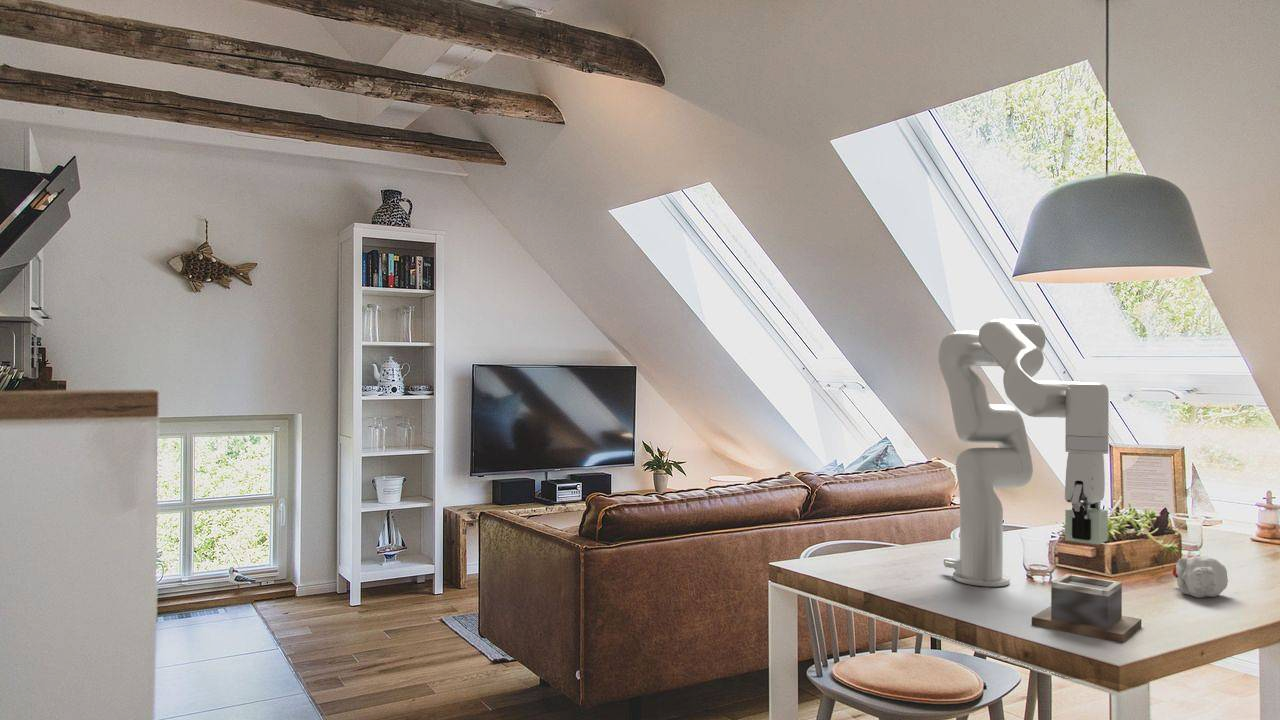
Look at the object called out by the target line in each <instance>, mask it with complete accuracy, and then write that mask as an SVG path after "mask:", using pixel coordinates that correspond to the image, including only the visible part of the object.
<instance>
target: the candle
mask: <svg viewBox="0 0 1280 720" xmlns="http://www.w3.org/2000/svg"><path fill="white" fill-rule="evenodd" d="M1172 575H1173V576H1174V577H1175V578H1176V581H1177V583H1176V584H1177V586H1178V589H1179V590H1180V592H1181V593H1183V594H1185V595H1189V596H1192V597H1194V598H1197V599H1200V598H1210V597H1211V598H1212V597H1213V598H1214V597H1216V596H1219V595H1220V594H1222V593H1223V592H1224V590H1226V589H1227V587H1228V582H1229V580H1228V578H1229V577H1228V570H1227V568H1226V566H1225V565H1224V564H1223V563H1221V562H1220V561H1219V560H1217V559H1215V558H1213V557H1208V556H1194V555H1193V556H1192V555H1191V556H1188V557H1181V558H1179V559H1178V560H1177V562H1176V565H1175V566H1174V568H1173V571H1172Z"/></svg>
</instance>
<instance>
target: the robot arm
mask: <svg viewBox="0 0 1280 720" xmlns="http://www.w3.org/2000/svg"><path fill="white" fill-rule="evenodd" d="M1046 339H1047V338H1046V333H1045V331H1044V329H1043V327H1042V326H1041V325H1040V324H1039V323H1038V322H1036V321H1033V320H1030V319H1011V318H1010V319H1009V318H998V319H992V320H989V321H987V322H985V323H984V324H983V325H982V326H981V327H980V328H979V330H962V331H961V330H960V331H954V332H951V333H949V334H947V335H945V336H944V337H943V338H942V339H941V342H940V344H939V348H938V365H939V369H940V371H941V375H942V377H943V379H944V383H945V384H946V387H947V389H948V394H949V399H950V400H949V401H950V405H951V411H952V419H953V422H954V428H955V431H956V434H957V437H958V439H959V440H961V442H964V443H967V444H968V443H969V444H997V446H998V447H972V448H967V449H965V450H963V451H962V452H960V453H959V454H958V456H957V458H956V461H955V471H956V472H955V473H956V478H957V483H958V489H959V490H958V491H959V558H957V559H953V558H949V557H945V558H944V559H943V565H944V568H951V569H954V570H955V571H954V572H953V573H952V579H953V580H955V581H956V582H958V583H962V584H966V585H970V586H978V587H988V588H989V587H992V588H994V587H1005V586H1008V585H1009V584H1010V580H1011V578H1010V577H1008V576H1007V575H1005V574H1003V565H1004V564H1003V558H1004V557H1003V552H1004V551H1003V549H1004V547H1003V546H1004V545H1003V541H1004V538H1003V536H1004V535H1003V534H1004V532H1003V531H1004V529H1003V528H1004V521H1003V520H1004V517H1003V515H1004V511H1003V510H1004V509H1003V505H1002V504H1003V503H1002V502H1001V500H1000V498H999V496H998V495H997V493H996V492H995V490H994V489H998V488H999V489H1002V488H1005V489H1007V488H1022V487H1025V486H1026V485H1028V484H1029V483H1030V482H1031V480H1032V477H1033V472H1034V469H1033V467H1034V466H1033V460H1032V456H1031V449H1030V446H1029V439H1028V435H1027V430H1026V426H1025V422H1024V419H1023V417H1022V415H1021V414H1020V412H1021V413H1023V414H1025V415H1027V416H1028V417H1032V418H1060V419H1061V418H1064V419H1065V447H1064V448H1065V452H1067V453H1068V454H1067V459H1066V469H1065V470H1066V471H1065V485H1064V486H1065V487H1064V500H1065V502H1067V503H1071V506H1072V507H1071V508H1072V538H1074V539H1081V540H1090V539H1091V519H1089V512H1090V508H1094V509H1101V503H1102V501H1103V500H1104V498H1105V492H1106V491H1105V486H1106V484H1105V483H1106V482H1105V459H1104V457H1105V456H1104V455H1107V454H1109V404H1110V403H1109V388H1108V387H1107V385H1106V384H1105V383H1102V382H1080V381H1070V380H1068V381H1067V380H1036V379H1033V378H1032V377H1034V376H1035V375H1037V374H1038V372H1039V371H1040V370H1041V369H1042V367H1043V365H1044V357H1045V356H1044V353H1043V352H1042V351H1043V349H1044V348H1045V345H1046ZM972 366H979V367H1001V369H1002V370H1003V371H1004V372H1003V380H1002V381H1003V388H1004V392H1005V394H1006V397H1007V399H1008V400H1009V401H1010V402H1012V403H1013V405H1014V406H1015V407H1016V408H1015V407H1014V406H1013V405H1009V404H1002V403H1001V404H992V403H991V402H990V401H989V399H988V395H987V390H986V386H985V383H984V382H983V380H982V379H981V377H980V376H979V375H978V374H977V373H976V372H975V371H974V370H973V369H972V368H971V367H972ZM1017 409H1018V410H1017ZM1083 507H1084V508H1085V511H1084V508H1083Z"/></svg>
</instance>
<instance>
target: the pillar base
mask: <svg viewBox="0 0 1280 720" xmlns="http://www.w3.org/2000/svg"><path fill="white" fill-rule="evenodd" d="M1050 589H1051V591H1050V592H1051V594H1050V596H1051V597H1050V599H1051V601H1050V602H1051V603H1050V605H1049V606H1048V607H1046V608H1045V609H1043V610H1041V611H1039V612H1037V613H1036V614H1034V615H1033V616H1031V625H1033V626H1038V627H1041V628H1047V629H1052V630H1057V631H1062V632H1067V633H1073V634H1076V635H1083V636H1088V637H1091V638H1092V637H1093V638H1098V639H1103V640H1107V641H1113V642H1118V643H1121V644H1122V643H1124V642H1125V641H1127V640H1128V639H1129V638H1130V637H1131V636H1132V635H1134V634H1135V633H1136V632H1137V631H1138V630H1139V629H1141V628H1142V618H1138V617H1133V616H1132V617H1130V616H1127V615H1123V614H1122V610H1123V605H1122V603H1123V602H1122V601H1123V600H1122V599H1123V597H1122V596H1123V595H1122V594H1123V592H1122V590H1123V582H1121V581H1115V580H1108V579H1102V578H1098V577H1097V578H1096V577H1090V576H1086V575H1085V576H1083V575H1078V574H1077V575H1076V574H1071V573H1066V574H1064V575H1062V576H1060V577H1058V578H1056V579H1055V580H1053V581H1051V587H1050Z"/></svg>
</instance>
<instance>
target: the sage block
mask: <svg viewBox="0 0 1280 720" xmlns="http://www.w3.org/2000/svg"><path fill="white" fill-rule="evenodd" d="M1083 508H1084V507H1083ZM1084 511H1085V508H1084ZM1108 511H1109V510H1108V509H1101V508H1100V509H1094V508H1090V512H1089V519H1091V539H1090V540H1081V539H1074V538H1072V507H1068V508H1066V509H1065V514H1064V515H1065V517H1064V519H1065V520H1064V521H1065V523H1064V524H1065V526H1064V527H1065V529H1064V531H1065V532H1064V533H1065V535H1064V536H1065V539H1064V540H1065V541H1067V542H1075V543H1084V544H1092V545H1101V544H1103V543H1106V542H1107V541H1108V538H1109V537H1108V536H1109V535H1108V533H1109V532H1108V531H1109V530H1108V529H1109V528H1108V526H1109V525H1108V522H1109V519H1108V515H1109V514H1108Z"/></svg>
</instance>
